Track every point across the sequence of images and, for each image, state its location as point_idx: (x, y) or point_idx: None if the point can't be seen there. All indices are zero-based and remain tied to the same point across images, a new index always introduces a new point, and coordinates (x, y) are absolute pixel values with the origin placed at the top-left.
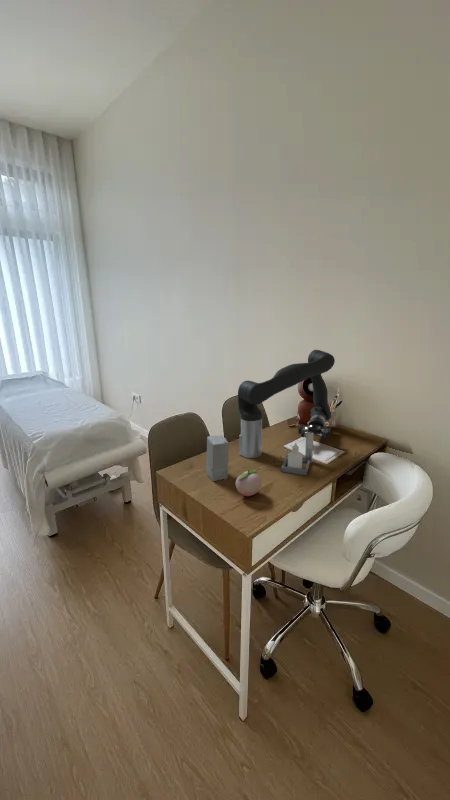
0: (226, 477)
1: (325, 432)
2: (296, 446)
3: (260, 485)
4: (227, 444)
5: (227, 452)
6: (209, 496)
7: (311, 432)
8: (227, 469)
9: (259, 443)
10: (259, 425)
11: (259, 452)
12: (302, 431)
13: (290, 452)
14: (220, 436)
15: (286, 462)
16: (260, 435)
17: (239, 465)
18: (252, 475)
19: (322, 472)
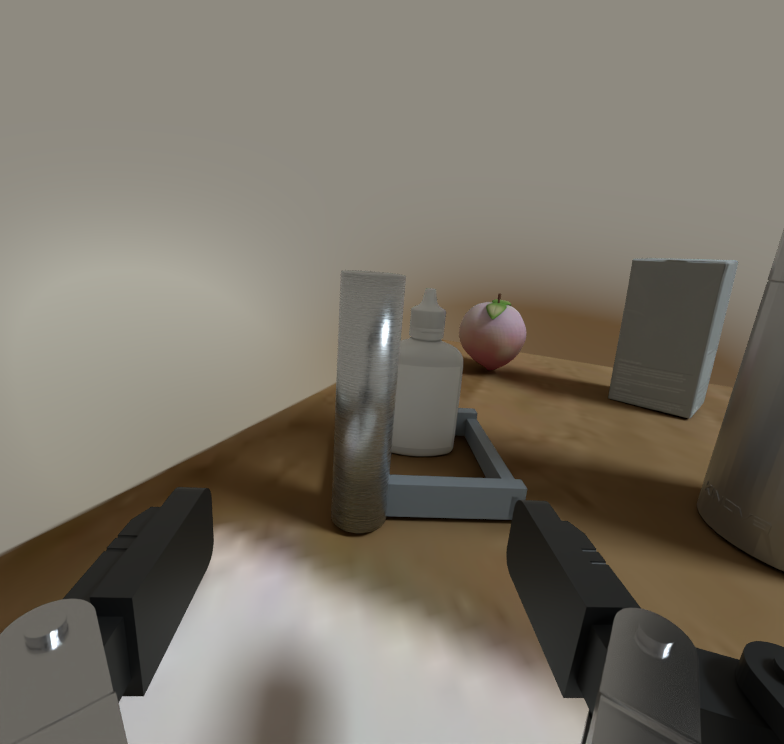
0: (610, 392)
1: (46, 611)
2: (422, 302)
3: (459, 330)
4: (632, 264)
5: (627, 297)
6: (567, 366)
7: (361, 274)
8: (614, 363)
9: (729, 420)
10: (777, 271)
11: (708, 485)
12: (616, 600)
13: (449, 344)
14: (708, 260)
15: (486, 466)
16: (756, 365)
17: (673, 446)
18: (484, 303)
19: (268, 455)
